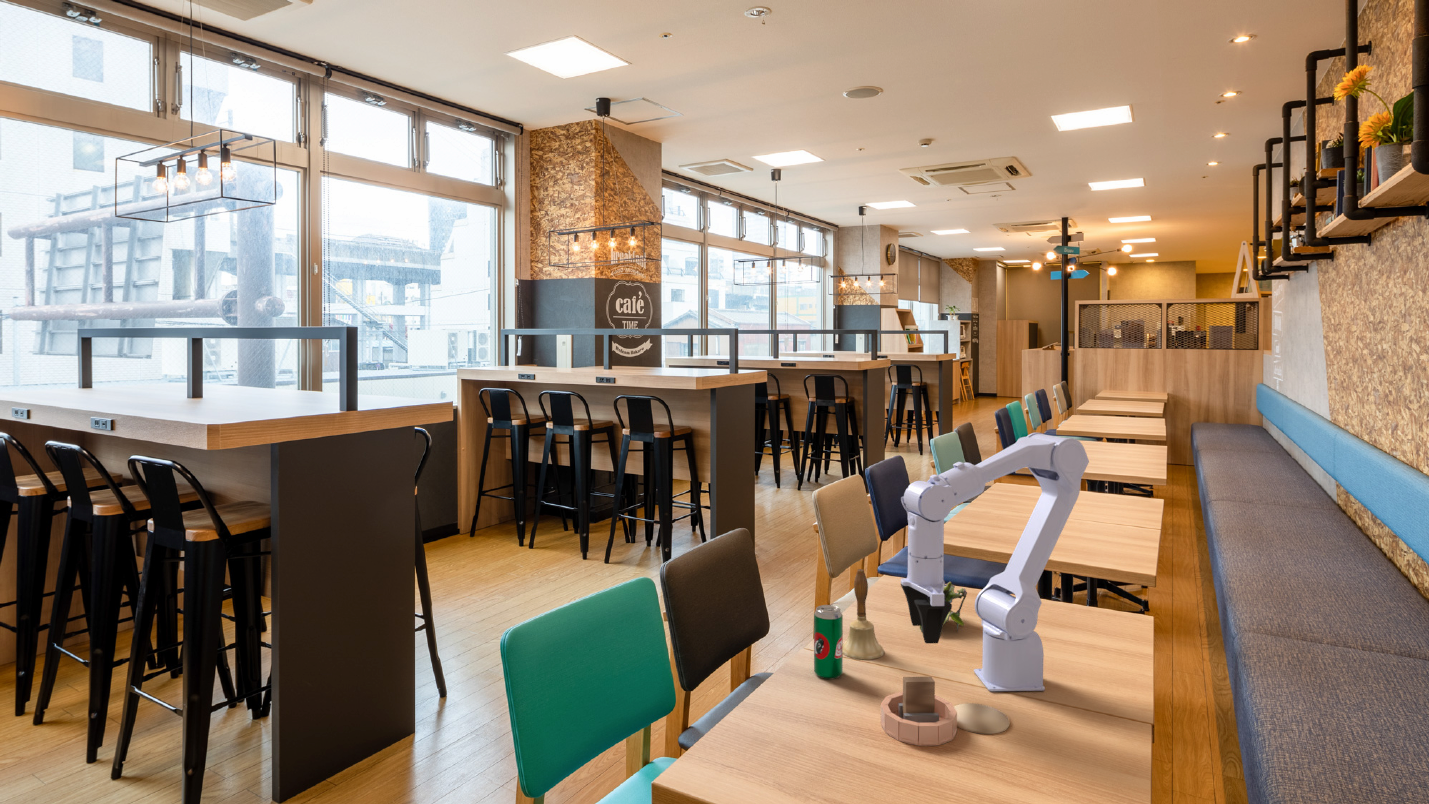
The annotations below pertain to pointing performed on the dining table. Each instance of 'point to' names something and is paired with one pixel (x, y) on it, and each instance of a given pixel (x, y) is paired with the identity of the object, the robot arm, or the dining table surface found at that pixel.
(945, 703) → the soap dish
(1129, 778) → the dining table surface
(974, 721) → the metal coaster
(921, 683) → the brown rectangular block
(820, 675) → the soda can
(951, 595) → the green leafy plant
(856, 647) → the hand bell
